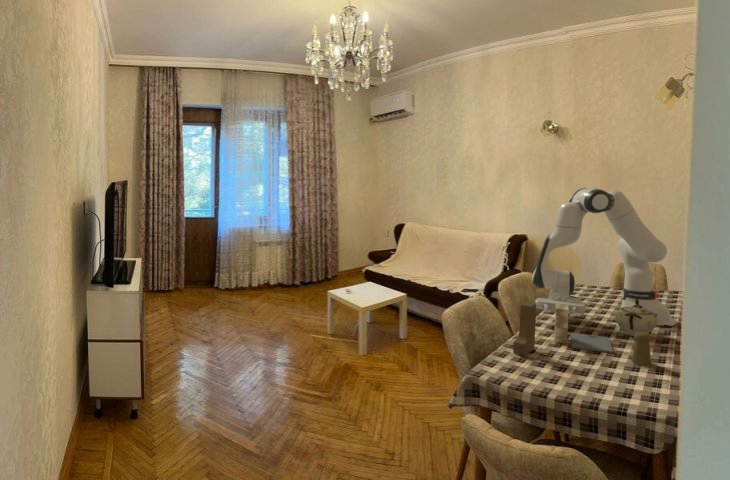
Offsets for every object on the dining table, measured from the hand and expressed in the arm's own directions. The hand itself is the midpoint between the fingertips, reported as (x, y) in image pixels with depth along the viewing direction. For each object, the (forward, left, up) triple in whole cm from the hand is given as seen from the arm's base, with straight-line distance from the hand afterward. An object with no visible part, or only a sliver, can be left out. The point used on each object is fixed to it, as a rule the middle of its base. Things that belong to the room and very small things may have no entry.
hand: (560, 310), depth 184 cm
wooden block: (+13, +30, -9) cm, 34 cm away
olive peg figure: (-26, +25, -9) cm, 37 cm away
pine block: (0, +12, -9) cm, 15 cm away
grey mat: (-11, +11, -9) cm, 19 cm away
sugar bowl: (-29, -8, -9) cm, 32 cm away
